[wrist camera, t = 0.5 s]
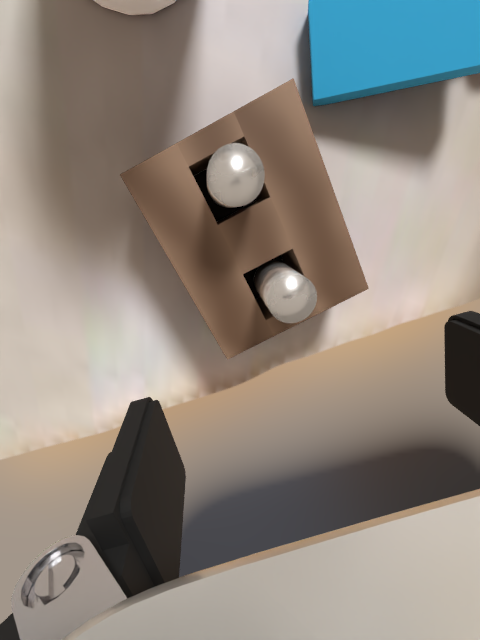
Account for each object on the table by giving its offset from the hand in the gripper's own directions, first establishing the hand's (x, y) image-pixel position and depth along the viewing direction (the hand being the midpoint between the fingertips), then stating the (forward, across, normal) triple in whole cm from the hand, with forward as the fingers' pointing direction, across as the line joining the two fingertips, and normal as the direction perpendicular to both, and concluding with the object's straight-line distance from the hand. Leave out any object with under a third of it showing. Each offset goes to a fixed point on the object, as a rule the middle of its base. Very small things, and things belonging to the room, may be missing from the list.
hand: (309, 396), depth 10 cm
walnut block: (+24, -2, -3) cm, 25 cm away
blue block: (+25, -20, -15) cm, 35 cm away
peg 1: (+20, -1, -8) cm, 21 cm away
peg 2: (+20, -3, +1) cm, 20 cm away
